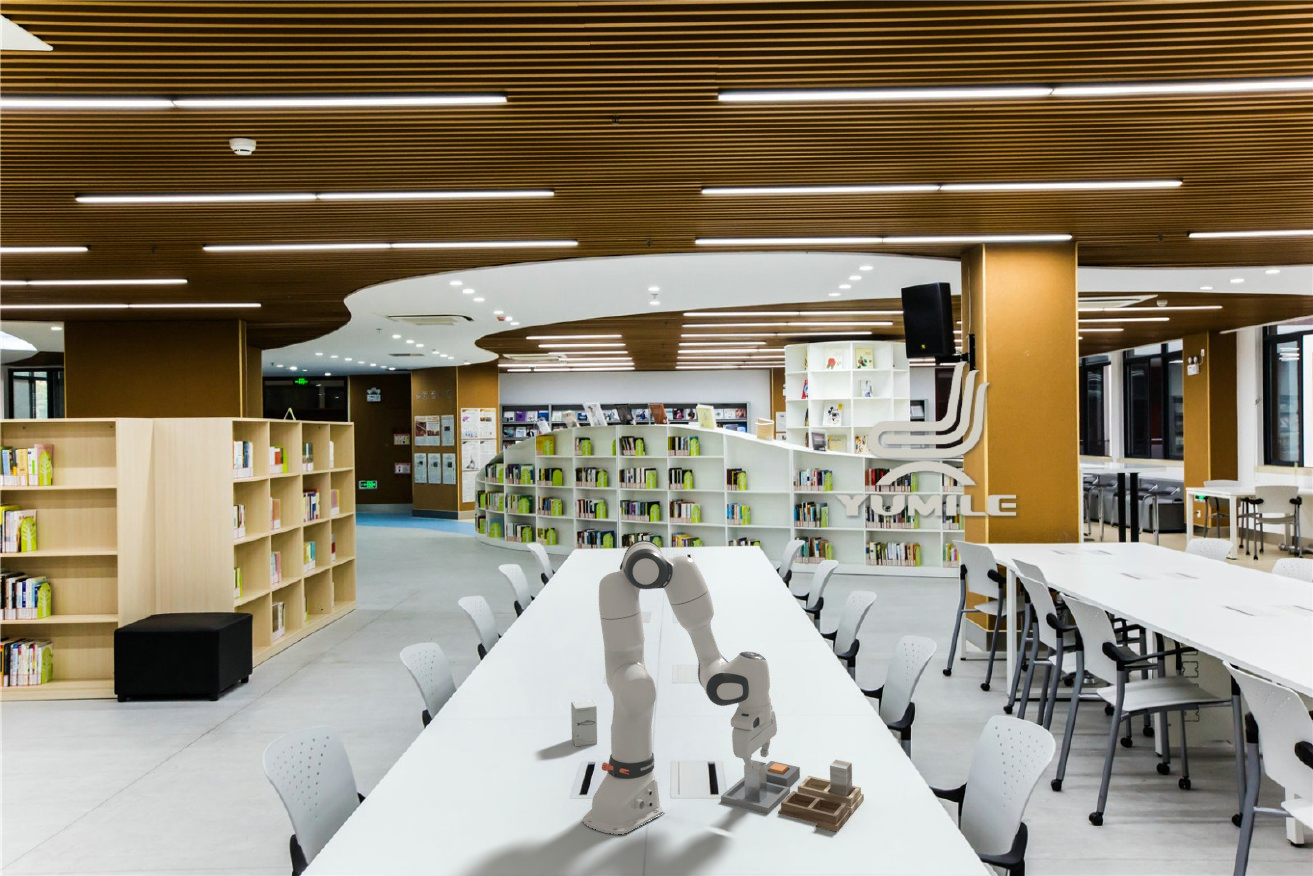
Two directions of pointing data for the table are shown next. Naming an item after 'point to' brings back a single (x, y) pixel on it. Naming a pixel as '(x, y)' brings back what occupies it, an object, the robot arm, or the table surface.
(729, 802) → the tray
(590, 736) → the supplement box
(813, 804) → the pallet
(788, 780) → the button console
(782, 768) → the button
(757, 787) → the block
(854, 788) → the tray
